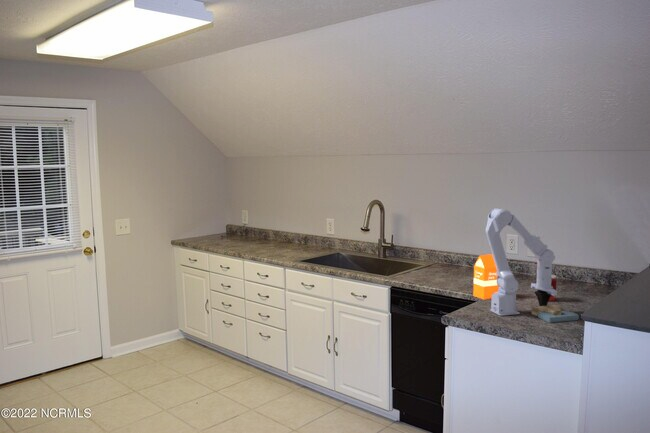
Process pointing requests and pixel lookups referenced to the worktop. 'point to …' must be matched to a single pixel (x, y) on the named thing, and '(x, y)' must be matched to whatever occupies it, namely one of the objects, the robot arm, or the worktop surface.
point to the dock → (563, 317)
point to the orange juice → (485, 277)
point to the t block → (547, 310)
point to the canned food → (553, 284)
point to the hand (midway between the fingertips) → (542, 308)
